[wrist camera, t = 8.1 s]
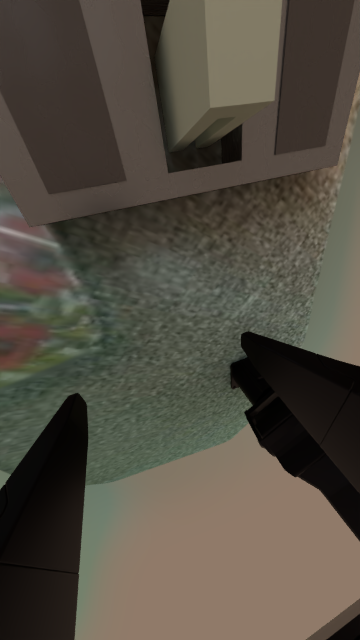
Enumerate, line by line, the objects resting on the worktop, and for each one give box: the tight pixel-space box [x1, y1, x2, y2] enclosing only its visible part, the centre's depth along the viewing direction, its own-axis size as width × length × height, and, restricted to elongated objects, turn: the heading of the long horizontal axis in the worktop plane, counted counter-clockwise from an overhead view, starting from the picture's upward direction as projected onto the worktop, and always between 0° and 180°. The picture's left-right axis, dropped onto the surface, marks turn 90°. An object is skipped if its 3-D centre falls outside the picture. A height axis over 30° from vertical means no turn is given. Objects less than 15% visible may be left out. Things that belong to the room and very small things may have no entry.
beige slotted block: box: [154, 0, 282, 153], centre depth 11 cm, size 5×4×8 cm
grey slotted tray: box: [0, 0, 360, 227], centre depth 12 cm, size 11×26×3 cm, turn 100°
